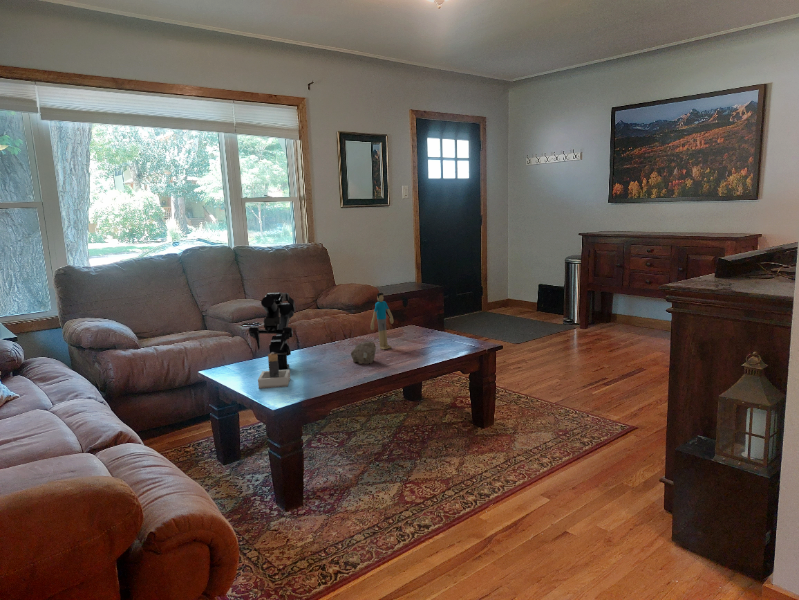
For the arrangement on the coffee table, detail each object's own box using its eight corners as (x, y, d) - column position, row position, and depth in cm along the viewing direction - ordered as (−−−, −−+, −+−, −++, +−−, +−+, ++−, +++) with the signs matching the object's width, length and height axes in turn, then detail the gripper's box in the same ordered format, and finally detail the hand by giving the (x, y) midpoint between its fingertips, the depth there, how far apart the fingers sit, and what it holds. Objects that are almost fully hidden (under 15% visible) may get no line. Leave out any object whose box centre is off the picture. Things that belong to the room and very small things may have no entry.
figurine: (377, 352, 279) (374, 295, 274) (368, 350, 284) (366, 294, 279) (399, 346, 290) (397, 291, 285) (391, 344, 295) (389, 290, 290)
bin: (263, 379, 241) (262, 371, 240) (290, 378, 242) (289, 369, 241) (258, 388, 229) (257, 379, 228) (287, 386, 230) (286, 377, 229)
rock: (346, 353, 257) (348, 343, 264) (353, 370, 261) (355, 360, 268) (373, 347, 254) (375, 337, 261) (380, 364, 259) (381, 355, 266)
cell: (274, 379, 238) (272, 350, 236) (281, 380, 236) (279, 351, 234) (268, 382, 234) (265, 353, 232) (274, 383, 232) (272, 354, 230)
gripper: (248, 309, 237) (244, 341, 230) (292, 310, 239) (289, 342, 232) (252, 320, 247) (248, 351, 240) (293, 320, 249) (291, 352, 241)
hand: (269, 349), depth 238 cm, fingers open, 9 cm apart
